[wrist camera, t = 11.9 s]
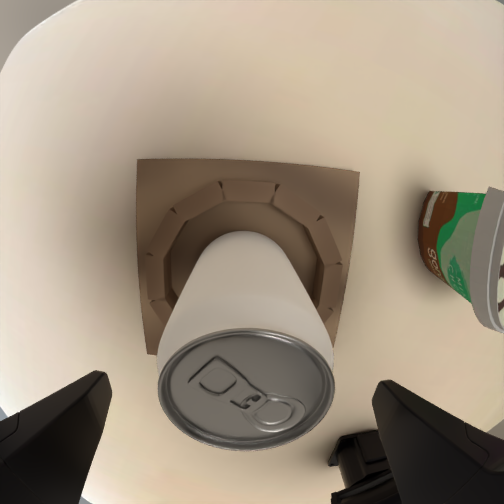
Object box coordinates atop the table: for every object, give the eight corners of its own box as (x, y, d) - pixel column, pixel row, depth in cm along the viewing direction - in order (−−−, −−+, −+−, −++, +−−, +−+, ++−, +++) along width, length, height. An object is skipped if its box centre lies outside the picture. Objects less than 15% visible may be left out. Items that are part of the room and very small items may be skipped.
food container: (378, 240, 20) (462, 288, 11) (418, 179, 19) (513, 190, 9) (451, 311, 22) (514, 362, 13) (483, 261, 21) (553, 297, 12)
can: (246, 333, 21) (253, 472, 9) (177, 278, 19) (111, 398, 8) (309, 271, 20) (383, 385, 8) (239, 208, 18) (236, 264, 7)
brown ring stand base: (327, 354, 23) (336, 375, 20) (150, 347, 22) (140, 368, 19) (354, 172, 19) (372, 172, 16) (142, 160, 18) (126, 157, 15)
